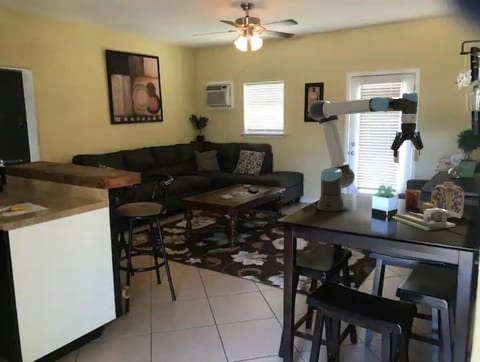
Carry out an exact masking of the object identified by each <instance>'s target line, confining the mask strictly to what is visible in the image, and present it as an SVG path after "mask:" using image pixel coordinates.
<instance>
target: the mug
mask: <svg viewBox="0 0 480 362" xmlns="http://www.w3.org/2000/svg"><path fill="white" fill-rule="evenodd" d="M404 193H405V201H404V204H405V208H406V209H410V210H417V209H418V208H419V206H420V195H421V194H422V190H419V189H410V188H409V189H405V190H404Z"/></svg>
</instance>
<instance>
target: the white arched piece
mask: <svg viewBox="0 0 480 362" xmlns="http://www.w3.org/2000/svg"><path fill="white" fill-rule="evenodd" d="M421 211H422V212H423V215H424V216H423V221H424V222H429V221H430V217H431V213H437V212H439V213H443V214H446V215H450V216H454V217H453V218H458V219H460V218H462V217H463V215H461V214H459V213H455V212H451V211H447V210H444V209H440V208H436V205H434V204H431V202H430V203H429V202H424V203H422V205H421Z"/></svg>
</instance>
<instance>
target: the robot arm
mask: <svg viewBox="0 0 480 362" xmlns="http://www.w3.org/2000/svg"><path fill="white" fill-rule="evenodd" d="M418 95H419V94H418V93H416V92H404V93H402V96H398V97H395V96H394V97H392V96H391V97H389V96H382V95H380V96H376V97H369V98H368V97H367V98H359V99H350V100H349V99H346V100H340V101H332V100H316V101H314V102H312V103H311V105H310V106H309V110H308V113H309V115H310V118H312V119H313V120H315V121H318V124H319V126H320V127H321V128H322V130H323V134H324V139H325V143H326V147H327V148H326V149H327V151H328V155H329V160H330V164H331V165H330V167H329V168H325V169H323V170H322V171H321V174H320V196H319V200H318V203H317V210H320V211H323V212H341V211H343V210H344V209H345V208H344V207H345V204H344V202H343V198H342V189H344V188H348V187H350V186H351V185H352V184H353V183H354V181H355V179H356V178H355V172H354V170H352V169H351V168H350V164H349V163H348V162H346V158H345V153H344V149H343V145H342V140H341V137H340V133H339V131H340V130H339V128H338V122H339V116H344V115H353V114H355V115H356V114H365V113H366V114H367V113H379V112H382V113H383V112H384V113H389V112H392V113H393V112H401V116H400V117H401V119H400V122H401V123H400V130H401V131H396V133H395V137H394V139H393V142H392V144H391V146H390V150H392V151H393V155H392V156H393V163H394V164H399V163H400V150H399V149H400V148H401V147H402V146H403V144H404V143H405V141H411V143H412V145H413V146H414V148H415V149H414V154H413V155H414V157H413V162H415V163H418V162H420V156H421V150H423V149H424V148H425V147H424V143H423V141H422V138H421V131H419V130H418V131H417V123H416V122H417V117H418V105H419V104H418V103H419V101H418V99H419V96H418Z"/></svg>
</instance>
